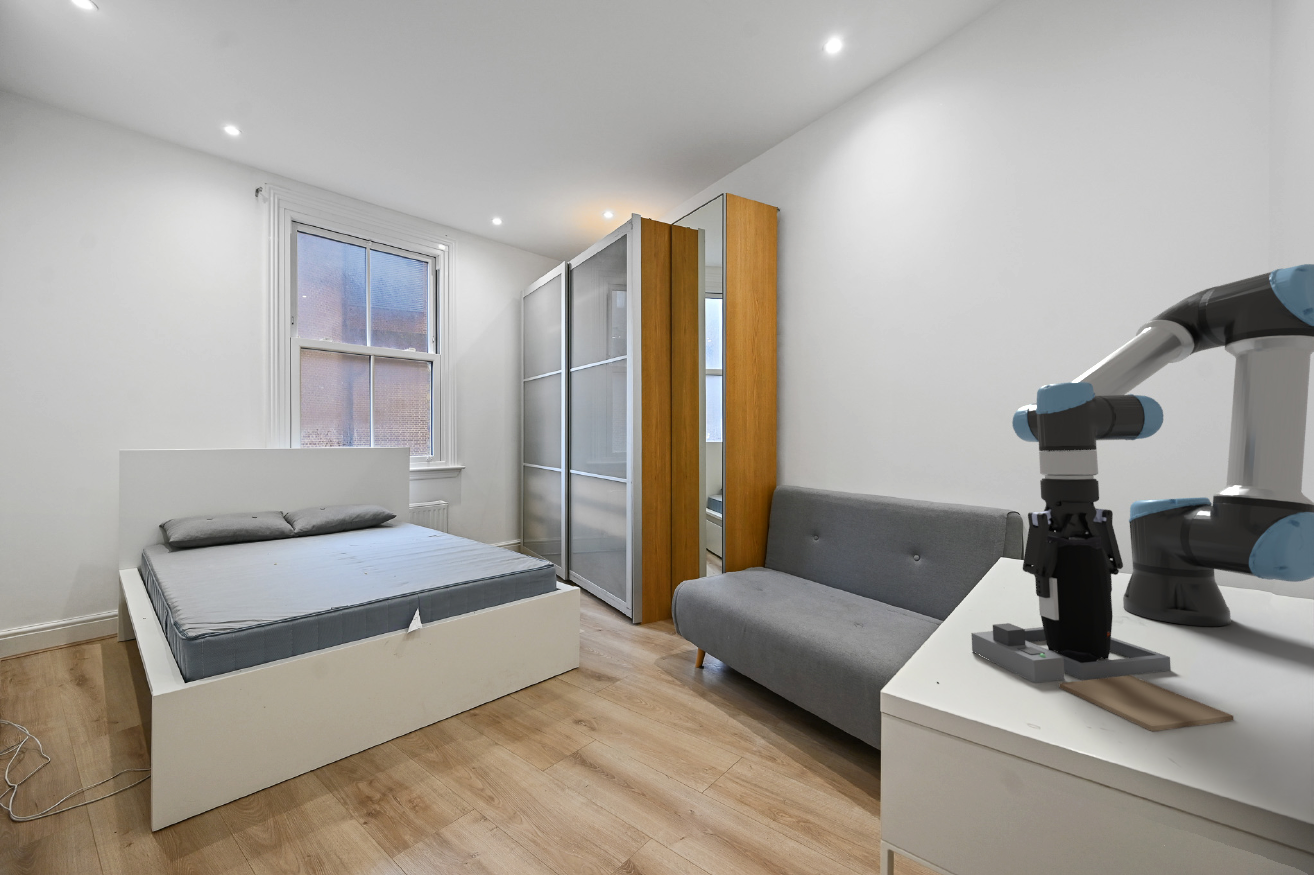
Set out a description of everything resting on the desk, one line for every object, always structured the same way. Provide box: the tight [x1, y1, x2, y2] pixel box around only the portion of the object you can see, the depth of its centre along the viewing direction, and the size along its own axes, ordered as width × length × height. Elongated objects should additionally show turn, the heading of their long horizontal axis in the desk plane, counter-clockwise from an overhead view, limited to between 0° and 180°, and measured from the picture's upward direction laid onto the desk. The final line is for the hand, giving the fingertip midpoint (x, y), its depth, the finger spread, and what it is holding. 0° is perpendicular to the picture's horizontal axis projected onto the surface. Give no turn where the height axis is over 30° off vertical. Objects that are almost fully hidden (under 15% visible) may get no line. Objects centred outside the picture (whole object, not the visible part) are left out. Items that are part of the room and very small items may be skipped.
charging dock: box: [1024, 626, 1172, 681], centre depth 85 cm, size 18×16×2 cm
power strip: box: [971, 622, 1065, 684], centre depth 82 cm, size 5×12×6 cm, turn 9°
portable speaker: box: [1040, 535, 1114, 663], centre depth 85 cm, size 9×9×20 cm
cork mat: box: [1058, 675, 1234, 732], centre depth 69 cm, size 12×12×1 cm
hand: (1075, 615), depth 85 cm, fingers closed on portable speaker, 9 cm apart
